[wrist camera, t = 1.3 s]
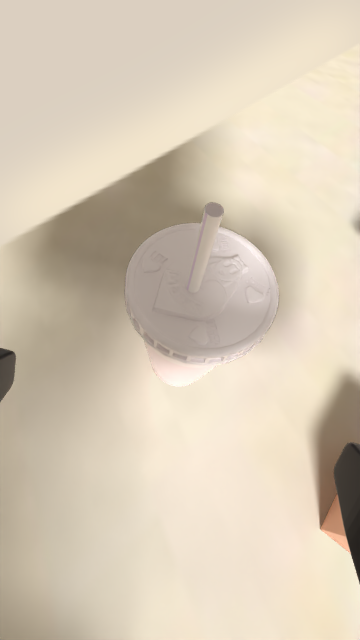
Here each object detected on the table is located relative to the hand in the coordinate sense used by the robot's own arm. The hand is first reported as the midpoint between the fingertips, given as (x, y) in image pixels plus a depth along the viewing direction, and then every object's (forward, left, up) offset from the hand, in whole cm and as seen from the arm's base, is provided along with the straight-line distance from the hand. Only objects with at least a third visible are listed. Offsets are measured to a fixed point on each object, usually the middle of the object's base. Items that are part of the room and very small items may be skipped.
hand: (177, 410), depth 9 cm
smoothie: (+5, -3, -12) cm, 14 cm away
